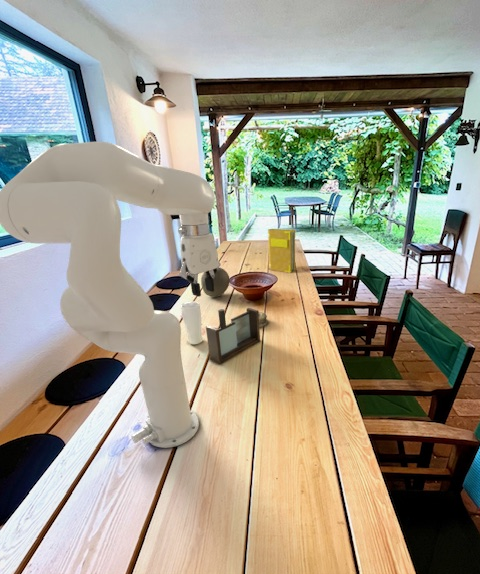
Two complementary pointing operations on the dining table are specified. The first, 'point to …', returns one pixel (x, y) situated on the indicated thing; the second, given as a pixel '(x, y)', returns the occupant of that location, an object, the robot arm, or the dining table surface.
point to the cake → (262, 319)
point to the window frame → (244, 332)
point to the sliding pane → (226, 334)
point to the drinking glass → (192, 321)
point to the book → (281, 250)
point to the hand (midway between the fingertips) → (203, 292)
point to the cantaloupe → (217, 283)
